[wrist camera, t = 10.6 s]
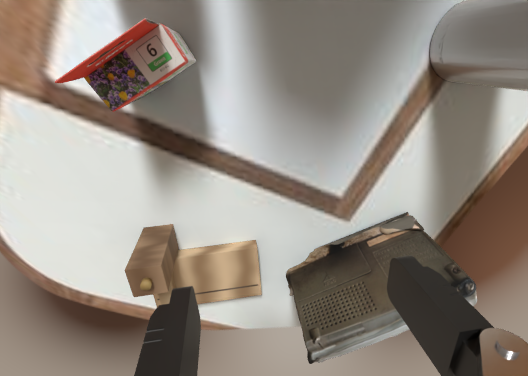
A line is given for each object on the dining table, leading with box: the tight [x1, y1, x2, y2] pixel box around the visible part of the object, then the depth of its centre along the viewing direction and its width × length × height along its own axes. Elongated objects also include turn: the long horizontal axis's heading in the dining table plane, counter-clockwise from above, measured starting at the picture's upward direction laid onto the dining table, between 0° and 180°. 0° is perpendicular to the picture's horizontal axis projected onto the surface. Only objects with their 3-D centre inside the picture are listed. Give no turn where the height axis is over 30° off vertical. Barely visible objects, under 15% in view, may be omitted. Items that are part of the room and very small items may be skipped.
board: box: [153, 240, 262, 307], centre depth 45 cm, size 16×9×2 cm, turn 94°
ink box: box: [55, 18, 196, 112], centre depth 26 cm, size 4×8×15 cm, turn 121°
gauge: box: [125, 224, 178, 305], centre depth 39 cm, size 4×12×10 cm, turn 4°
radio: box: [286, 212, 477, 364], centre depth 41 cm, size 23×9×15 cm, turn 109°
